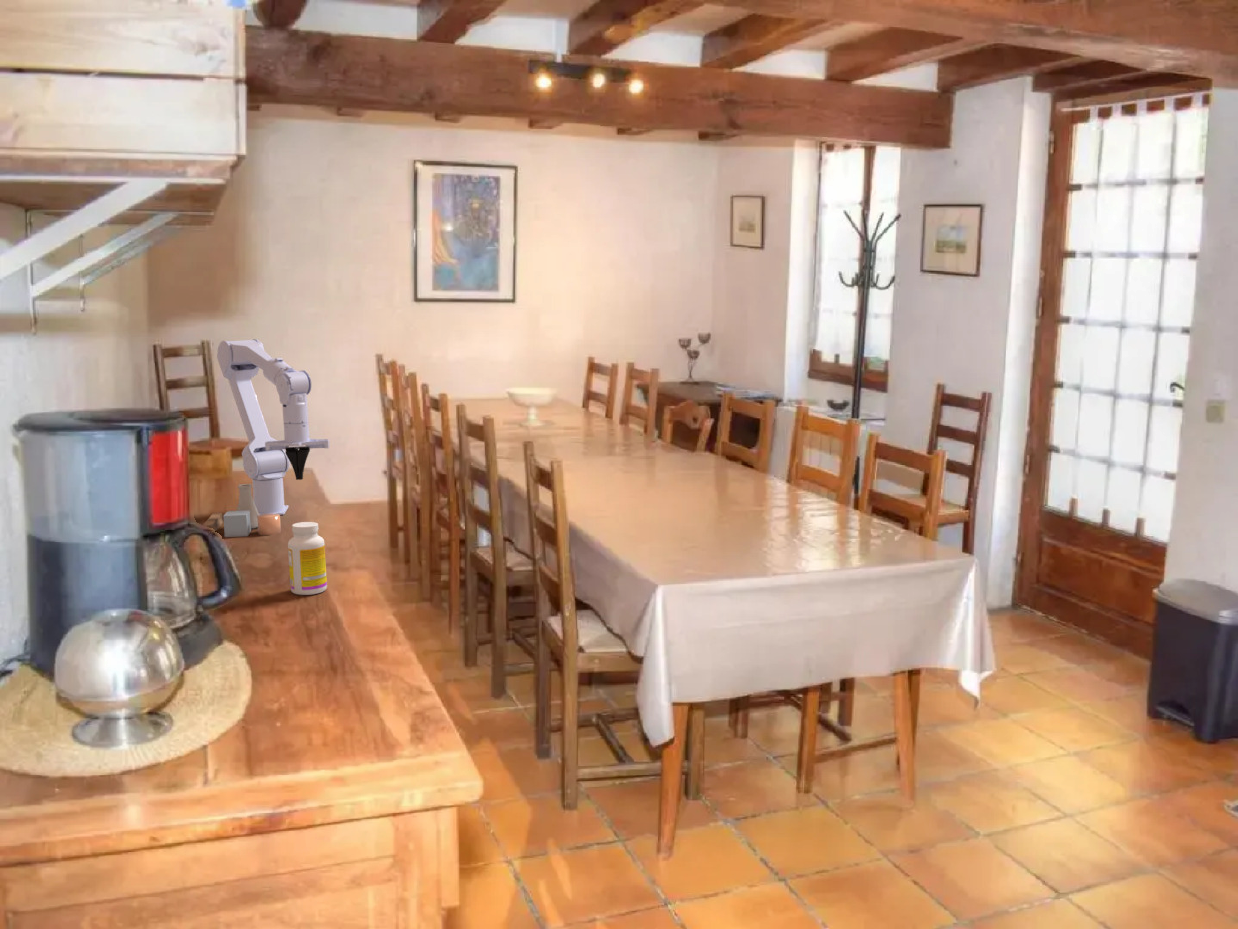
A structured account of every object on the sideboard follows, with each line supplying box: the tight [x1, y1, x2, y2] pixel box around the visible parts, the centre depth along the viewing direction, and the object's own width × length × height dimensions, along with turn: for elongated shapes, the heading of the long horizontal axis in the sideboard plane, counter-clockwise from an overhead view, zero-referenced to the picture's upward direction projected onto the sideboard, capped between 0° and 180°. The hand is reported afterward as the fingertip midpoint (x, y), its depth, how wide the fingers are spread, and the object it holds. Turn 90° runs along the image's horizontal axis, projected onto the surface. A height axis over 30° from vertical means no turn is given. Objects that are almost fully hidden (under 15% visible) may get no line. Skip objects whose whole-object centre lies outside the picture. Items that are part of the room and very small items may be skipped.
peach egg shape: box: [257, 514, 282, 536], centre depth 259 cm, size 5×5×4 cm
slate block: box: [222, 510, 252, 538], centre depth 258 cm, size 5×5×5 cm
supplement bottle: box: [287, 521, 328, 596], centre depth 211 cm, size 7×7×13 cm
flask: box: [235, 483, 259, 530], centre depth 265 cm, size 7×7×10 cm
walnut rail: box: [202, 512, 224, 532], centre depth 262 cm, size 14×2×2 cm, turn 9°
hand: (299, 479), depth 269 cm, fingers closed
